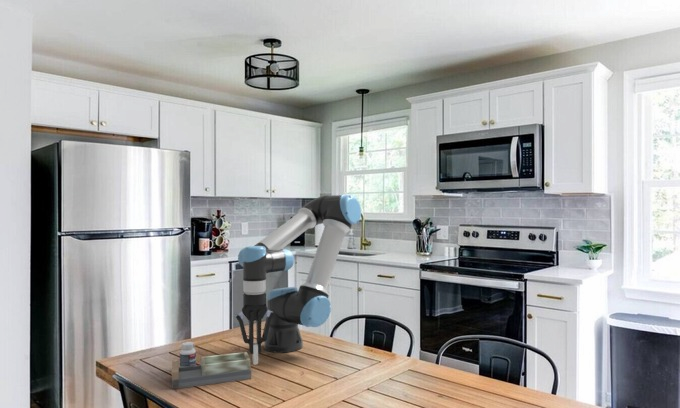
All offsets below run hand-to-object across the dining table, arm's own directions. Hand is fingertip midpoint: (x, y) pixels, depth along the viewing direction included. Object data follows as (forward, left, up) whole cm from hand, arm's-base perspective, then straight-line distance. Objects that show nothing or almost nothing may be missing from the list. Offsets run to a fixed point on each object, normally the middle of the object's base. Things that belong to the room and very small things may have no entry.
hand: (255, 363), depth 157 cm
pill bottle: (+21, -11, -3) cm, 24 cm away
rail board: (+14, 0, -3) cm, 15 cm away
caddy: (+10, 0, -1) cm, 10 cm away
